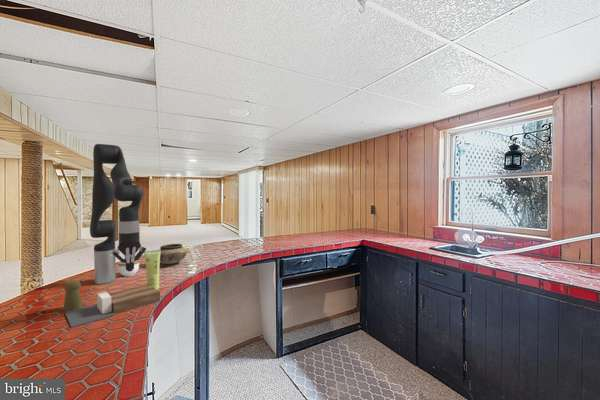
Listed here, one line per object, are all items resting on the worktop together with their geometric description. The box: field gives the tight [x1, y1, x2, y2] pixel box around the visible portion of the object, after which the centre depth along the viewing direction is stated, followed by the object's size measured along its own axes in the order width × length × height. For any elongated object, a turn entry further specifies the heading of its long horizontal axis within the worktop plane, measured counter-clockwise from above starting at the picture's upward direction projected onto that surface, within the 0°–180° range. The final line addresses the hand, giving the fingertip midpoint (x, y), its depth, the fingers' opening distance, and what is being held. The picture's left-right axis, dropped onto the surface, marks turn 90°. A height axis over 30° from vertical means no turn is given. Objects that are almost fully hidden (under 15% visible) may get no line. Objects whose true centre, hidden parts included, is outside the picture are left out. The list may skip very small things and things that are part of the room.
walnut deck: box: [108, 284, 161, 315], centre depth 114 cm, size 14×17×4 cm
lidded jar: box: [116, 259, 140, 277], centre depth 153 cm, size 11×11×9 cm
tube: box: [143, 249, 161, 290], centre depth 130 cm, size 6×5×20 cm
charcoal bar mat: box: [64, 303, 116, 329], centre depth 103 cm, size 17×13×1 cm
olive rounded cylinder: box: [62, 280, 83, 312], centre depth 109 cm, size 6×6×11 cm
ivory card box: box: [96, 290, 112, 314], centre depth 107 cm, size 9×6×3 cm
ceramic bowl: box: [152, 243, 192, 267], centre depth 175 cm, size 24×18×15 cm
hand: (129, 270), depth 113 cm, fingers closed
